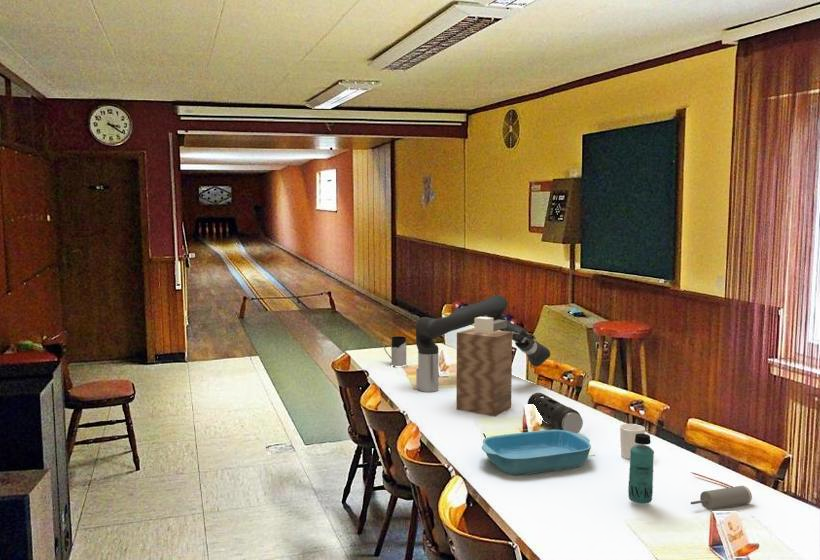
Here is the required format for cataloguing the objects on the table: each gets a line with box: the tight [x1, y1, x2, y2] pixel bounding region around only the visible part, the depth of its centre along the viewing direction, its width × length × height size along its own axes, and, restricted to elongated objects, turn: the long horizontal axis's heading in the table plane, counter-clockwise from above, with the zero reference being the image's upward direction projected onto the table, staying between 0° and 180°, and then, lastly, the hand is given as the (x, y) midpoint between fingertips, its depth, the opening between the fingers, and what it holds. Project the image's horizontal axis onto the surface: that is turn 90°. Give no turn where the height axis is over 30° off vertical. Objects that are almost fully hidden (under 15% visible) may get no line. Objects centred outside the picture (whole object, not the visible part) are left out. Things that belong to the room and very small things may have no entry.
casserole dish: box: [481, 429, 592, 476], centre depth 230 cm, size 37×22×7 cm, turn 107°
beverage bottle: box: [627, 433, 655, 505], centre depth 196 cm, size 6×7×20 cm
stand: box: [455, 327, 513, 417], centre depth 290 cm, size 18×14×32 cm
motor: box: [690, 471, 753, 511], centre depth 205 cm, size 23×22×5 cm
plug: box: [473, 316, 508, 334], centre depth 294 cm, size 6×19×6 cm, turn 145°
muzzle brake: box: [527, 392, 584, 434], centre depth 266 cm, size 10×28×10 cm, turn 16°
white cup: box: [619, 423, 646, 460], centre depth 235 cm, size 8×8×10 cm
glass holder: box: [382, 335, 407, 366], centre depth 373 cm, size 9×14×15 cm, turn 57°
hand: (512, 330), depth 310 cm, fingers open, 8 cm apart
